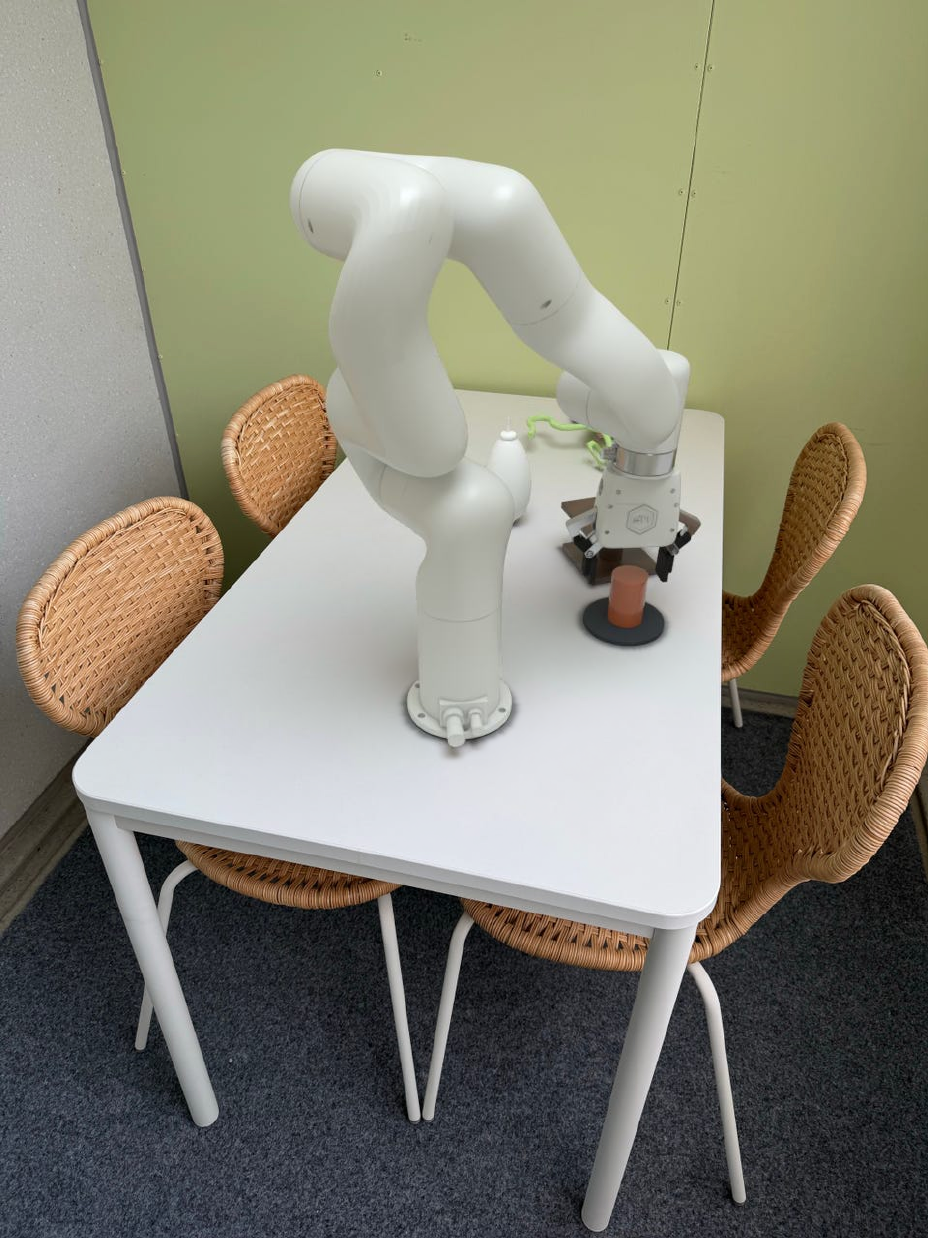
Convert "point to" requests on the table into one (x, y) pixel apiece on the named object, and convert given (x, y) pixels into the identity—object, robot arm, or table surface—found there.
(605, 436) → the figurine
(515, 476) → the sauce bottle
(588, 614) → the coaster
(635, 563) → the stand
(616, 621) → the canister
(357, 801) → the table surface
